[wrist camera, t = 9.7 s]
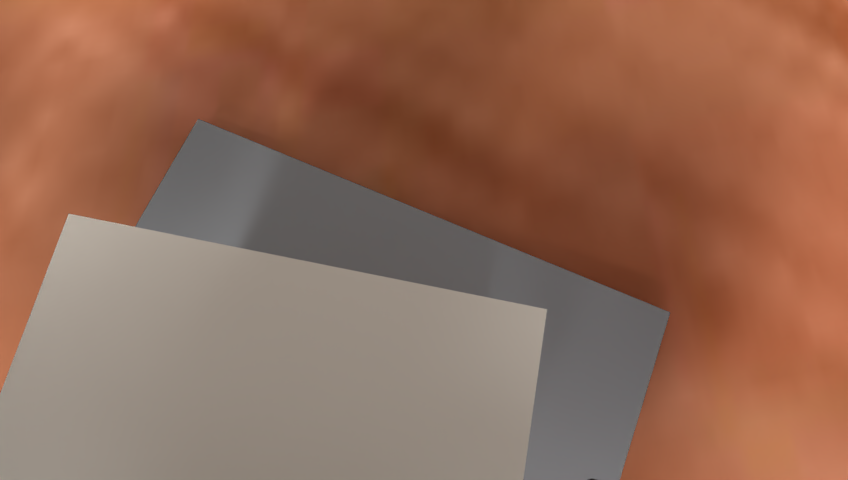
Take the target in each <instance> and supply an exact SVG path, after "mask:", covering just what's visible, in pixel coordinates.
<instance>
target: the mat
mask: <svg viewBox="0 0 848 480" xmlns="http://www.w3.org/2000/svg"><path fill="white" fill-rule="evenodd" d="M135 227H138V228H143V229H148V230H153V231H158V232H163V233H168V234H173V235H178V236H183V237H188V238H193V239H198V240H203V241H208V242H213V243H218V244H223V245H228V246H233V247H238V248H243V249H248V250H253V251H258V252H263V253H268V254H273V255H278V256H283V257H288V258H293V259H298V260H303V261H308V262H313V263H318V264H323V265H328V266H333V267H338V268H343V269H348V270H353V271H358V272H363V273H368V274H373V275H378V276H383V277H388V278H393V279H398V280H403V281H408V282H413V283H418V284H423V285H428V286H433V287H438V288H443V289H448V290H453V291H458V292H463V293H468V294H473V295H478V296H483V297H488V298H493V299H498V300H503V301H508V302H513V303H518V304H523V305H528V306H533V307H538V308H543V309H547V313H546V320H545V328H544V335H543V342H542V349H541V356H540V364H539V371H538V378H537V385H536V392H535V399H534V407H533V414H532V421H531V428H530V435H529V442H528V450H527V457H526V464H525V471H524V478H523V480H588V479H592V478H593V479H597V480H620V477H621V474H622V470H623V467H624V464H625V461H626V457H627V454H628V451H629V447H630V444H631V441H632V437H633V434H634V431H635V427H636V424H637V421H638V418H639V414H640V411H641V408H642V404H643V401H644V398H645V394H646V391H647V388H648V384H649V381H650V378H651V374H652V371H653V368H654V365H655V361H656V358H657V355H658V351H659V348H660V345H661V341H662V338H663V335H664V331H665V328H666V325H667V322H668V318H669V315H670V312H668V311H665V310H663V309H661V308H658V307H656V306H653V305H651V304H648V303H646V302H644V301H641V300H639V299H636V298H634V297H631V296H629V295H626V294H624V293H622V292H619V291H617V290H614V289H612V288H609V287H607V286H605V285H602V284H600V283H597V282H595V281H592V280H590V279H587V278H585V277H583V276H580V275H578V274H575V273H573V272H570V271H568V270H565V269H563V268H561V267H558V266H556V265H553V264H551V263H548V262H546V261H544V260H541V259H539V258H536V257H534V256H531V255H529V254H526V253H524V252H522V251H519V250H517V249H514V248H512V247H509V246H507V245H505V244H502V243H500V242H497V241H495V240H492V239H490V238H487V237H485V236H483V235H480V234H478V233H475V232H473V231H470V230H468V229H465V228H463V227H461V226H458V225H456V224H453V223H451V222H448V221H446V220H444V219H441V218H439V217H436V216H434V215H431V214H429V213H426V212H424V211H422V210H419V209H417V208H414V207H412V206H409V205H407V204H405V203H402V202H400V201H397V200H395V199H392V198H390V197H387V196H385V195H383V194H380V193H378V192H375V191H373V190H370V189H368V188H365V187H363V186H361V185H358V184H356V183H353V182H351V181H348V180H346V179H344V178H341V177H339V176H336V175H334V174H331V173H329V172H326V171H324V170H322V169H319V168H317V167H314V166H312V165H309V164H307V163H305V162H302V161H300V160H297V159H295V158H292V157H290V156H287V155H285V154H283V153H280V152H278V151H275V150H273V149H270V148H268V147H265V146H263V145H261V144H258V143H256V142H253V141H251V140H248V139H246V138H244V137H241V136H239V135H236V134H234V133H231V132H229V131H226V130H224V129H222V128H219V127H217V126H214V125H212V124H209V123H207V122H205V121H202V120H200V119H198V120H197V122H196V123H195V125H194V127H193V129H192V130H191V132H190V134H189V135H188V137H187V139H186V141H185V142H184V144H183V146H182V147H181V149H180V151H179V153H178V154H177V156H176V158H175V159H174V161H173V163H172V165H171V166H170V168H169V170H168V171H167V173H166V175H165V177H164V178H163V180H162V182H161V183H160V185H159V187H158V189H157V190H156V192H155V194H154V195H153V197H152V199H151V201H150V202H149V204H148V206H147V207H146V209H145V211H144V213H143V214H142V216H141V218H140V219H139V221H138V223H137V225H136V226H135Z"/></svg>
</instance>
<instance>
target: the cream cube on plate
mask: <svg viewBox="0 0 848 480" xmlns="http://www.w3.org/2000/svg"><path fill="white" fill-rule="evenodd" d="M546 313H547V309H543V308H538V307H533V306H528V305H523V304H518V303H513V302H508V301H503V300H498V299H493V298H488V297H483V296H478V295H473V294H468V293H463V292H458V291H453V290H448V289H443V288H438V287H433V286H428V285H423V284H418V283H413V282H408V281H403V280H398V279H393V278H388V277H383V276H378V275H373V274H368V273H363V272H358V271H353V270H348V269H343V268H338V267H333V266H328V265H323V264H318V263H313V262H308V261H303V260H298V259H293V258H288V257H283V256H278V255H273V254H268V253H263V252H258V251H253V250H248V249H243V248H238V247H233V246H228V245H223V244H218V243H213V242H208V241H203V240H198V239H193V238H188V237H183V236H178V235H173V234H168V233H163V232H158V231H153V230H148V229H143V228H138V227H133V226H128V225H123V224H118V223H113V222H108V221H103V220H98V219H93V218H88V217H83V216H78V215H73V214H68V217H67V219H66V222H65V225H64V227H63V230H62V233H61V235H60V238H59V241H58V243H57V246H56V248H55V251H54V254H53V256H52V259H51V262H50V264H49V267H48V269H47V272H46V275H45V277H44V280H43V283H42V285H41V288H40V291H39V293H38V296H37V298H36V301H35V304H34V306H33V309H32V312H31V314H30V317H29V319H28V322H27V325H26V327H25V330H24V333H23V335H22V338H21V341H20V343H19V346H18V348H17V351H16V354H15V356H14V359H13V362H12V364H11V367H10V369H9V372H8V375H7V377H6V380H5V383H4V385H3V388H2V391H1V393H0V480H523V478H524V471H525V464H526V457H527V450H528V442H529V435H530V428H531V421H532V414H533V407H534V399H535V392H536V385H537V378H538V371H539V364H540V356H541V349H542V342H543V335H544V328H545V320H546Z"/></svg>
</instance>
